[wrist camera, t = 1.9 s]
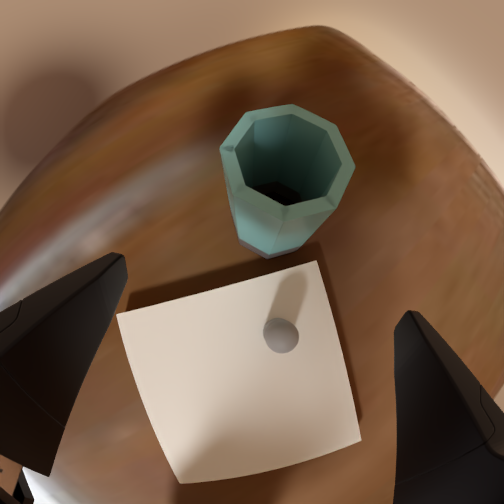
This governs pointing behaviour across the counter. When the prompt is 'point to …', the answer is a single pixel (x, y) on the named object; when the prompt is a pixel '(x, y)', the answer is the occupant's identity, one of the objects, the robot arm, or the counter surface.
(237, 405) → the pin board
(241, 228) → the teal faceted cylinder
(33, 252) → the counter surface
